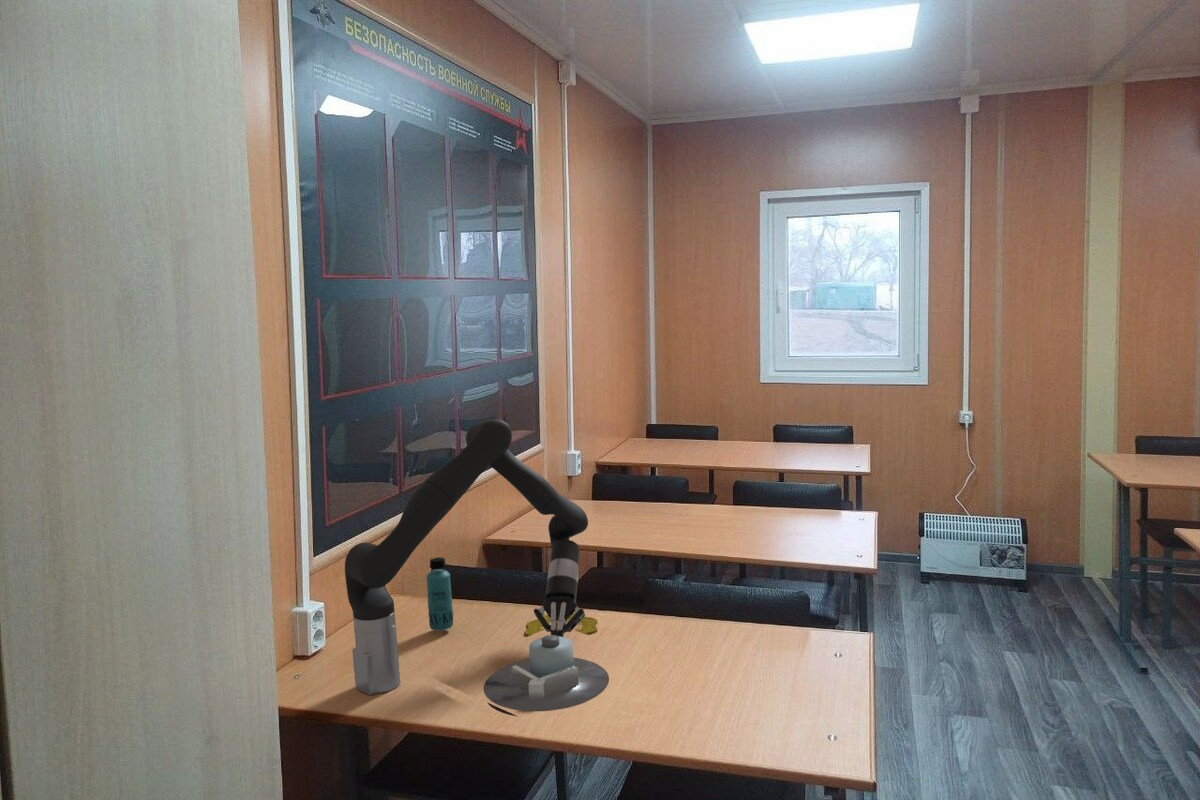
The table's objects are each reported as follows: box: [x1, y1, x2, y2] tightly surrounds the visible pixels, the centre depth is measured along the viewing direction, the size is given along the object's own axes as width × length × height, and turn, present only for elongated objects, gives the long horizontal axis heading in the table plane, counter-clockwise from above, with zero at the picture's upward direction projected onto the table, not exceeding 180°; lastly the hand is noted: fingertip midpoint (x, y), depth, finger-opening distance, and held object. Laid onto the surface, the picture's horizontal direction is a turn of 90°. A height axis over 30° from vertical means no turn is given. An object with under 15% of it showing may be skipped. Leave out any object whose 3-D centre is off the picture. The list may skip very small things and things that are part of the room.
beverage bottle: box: [426, 557, 454, 631], centre depth 235 cm, size 6×7×20 cm
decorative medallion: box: [523, 613, 599, 638], centre depth 234 cm, size 20×20×2 cm
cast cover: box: [528, 634, 574, 678], centre depth 204 cm, size 10×10×8 cm
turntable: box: [483, 656, 610, 717], centre depth 198 cm, size 28×28×6 cm
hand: (555, 647), depth 210 cm, fingers closed
